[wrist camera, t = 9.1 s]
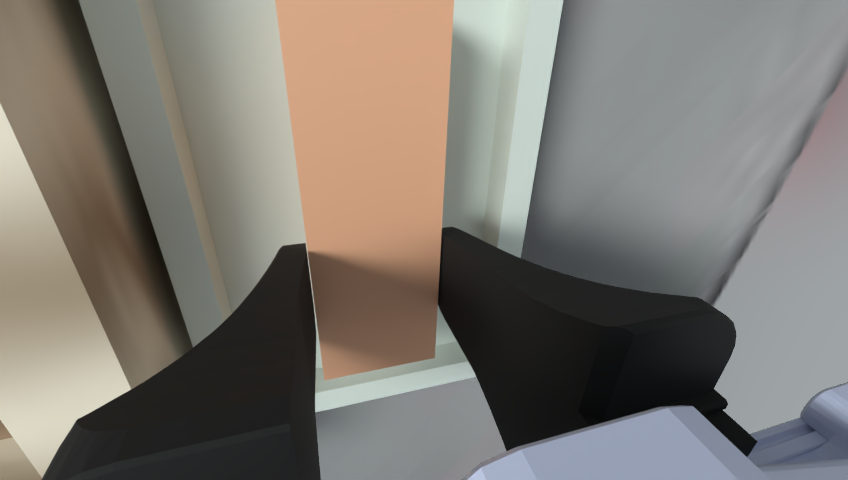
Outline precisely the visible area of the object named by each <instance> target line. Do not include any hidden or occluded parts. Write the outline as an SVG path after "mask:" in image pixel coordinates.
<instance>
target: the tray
mask: <svg viewBox="0 0 848 480" xmlns="http://www.w3.org/2000/svg"><path fill="white" fill-rule="evenodd" d="M79 3H80V6H81V9H82V12H83V15H84V18H85V21H86V24H87V27H88V30H89V33H90V37H91V40H92V43H93V46H94V49H95V52H96V55H97V58H98V61H99V64H100V67H101V70H102V73H103V76H104V79H105V82H106V85H107V88H108V91H109V94H110V97H111V100H112V103H113V106H114V109H115V112H116V115H117V118H118V121H119V124H120V127H121V131H122V134H123V137H124V140H125V143H126V146H127V149H128V152H129V155H130V158H131V161H132V164H133V167H134V170H135V173H136V176H137V179H138V182H139V185H140V188H141V191H142V194H143V197H144V200H145V203H146V206H147V209H148V212H149V215H150V218H151V221H152V225H153V228H154V231H155V234H156V237H157V240H158V243H159V246H160V249H161V252H162V255H163V258H164V261H165V264H166V267H167V270H168V273H169V276H170V279H171V282H172V285H173V288H174V291H175V294H176V297H177V300H178V303H179V306H180V309H181V312H182V315H183V319H184V322H185V325H186V328H187V331H188V334H189V337H190V340H191V343H192V346H193V347H194V346H196V345H197V344H198V343H199V342H201V341H202V340H203V339H204V338H206V337H207V336H208V335H209V334H211V333H212V332H213V331H214V330H215V329H216V328H218V327H219V326H220V325H221V324H222V323H223V322H224V321H225V320H226V319H227V318H228V317H229V316H230V315H231V314H232V313H233V312H234V311H235V310H236V309H237V308H238V306H239V305H240V304H241V303H242V302H243V301H244V299H245V298H246V297H247V296H248V295H249V293H250V292H251V291H252V290H253V288H254V287H255V286H256V284H257V283H258V282H259V280H260V279H261V277H262V276H263V275H264V273H265V272H266V270H267V269H268V267H269V266H270V264H271V263H272V261H273V259H274V258H275V256H276V254H277V252H278V250H279V249H280V248H281V247H282V246H283V245H292V244H301V243H306V235H305V227H304V220H303V212H302V204H301V196H300V189H299V181H298V173H297V165H296V158H295V150H294V142H293V134H292V127H291V119H290V111H289V103H288V96H287V88H286V80H285V72H284V65H283V57H282V49H281V41H280V34H279V26H278V18H277V10H276V3H275V0H79ZM562 6H563V0H454V12H453V30H452V49H451V68H450V86H449V105H448V123H447V142H446V160H445V179H444V198H443V216H442V228H445V227H455V228H457V229H460V230H462V231H464V232H466V233H469V234H471V235H473V236H475V237H477V238H479V239H481V240H483V241H485V242H487V243H489V244H491V245H493V246H495V247H497V248H499V249H501V250H503V251H505V252H508V253H510V254H512V255H514V256H517V257H519V258H521V253H522V247H523V241H524V235H525V229H526V223H527V217H528V211H529V205H530V199H531V193H532V187H533V181H534V175H535V169H536V163H537V157H538V151H539V145H540V139H541V132H542V126H543V120H544V114H545V108H546V102H547V96H548V90H549V84H550V78H551V72H552V66H553V60H554V54H555V48H556V42H557V36H558V30H559V24H560V18H561V12H562ZM306 250H307V243H306ZM307 257H308V251H307ZM308 265H309V258H308ZM309 273H310V266H309ZM310 281H311V274H310ZM311 288H312V281H311ZM312 296H313V289H312ZM313 304H314V297H313ZM314 314H315V323H316V381H315V412H319V411H324V410H328V409H333V408H337V407H342V406H346V405H351V404H355V403H360V402H364V401H369V400H373V399H378V398H382V397H387V396H391V395H396V394H400V393H405V392H409V391H414V390H418V389H423V388H427V387H432V386H436V385H441V384H445V383H450V382H454V381H459V380H463V379H468V378H472V377H476V375H475V373H474V371H473V369H472V367H471V365H470V364H469V362H468V360H467V358H466V356H465V355H464V353H463V351H462V349H461V348H460V346H459V344H458V342H457V340H456V339H455V337H454V335H453V333H452V332H451V330H450V328H449V326H448V324H447V322H446V321H445V319H444V317H443V315H442V313H441V311H440V309H439V306H438V309H437V328H436V346H435V358H432V359H427V360H422V361H418V362H413V363H408V364H403V365H398V366H393V367H388V368H383V369H378V370H373V371H368V372H363V373H358V374H353V375H348V376H343V377H339V378H334V379H329V380H324V374H323V367H322V359H321V351H320V343H319V336H318V328H317V320H316V312H315V305H314Z"/></svg>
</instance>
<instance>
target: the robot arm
mask: <svg viewBox="0 0 848 480" xmlns="http://www.w3.org/2000/svg"><path fill="white" fill-rule="evenodd" d="M438 306H439V309H440V311H441V313H442V315H443V317H444V319H445V321H446V322H447V324H448V326H449V328H450V330H451V332H452V333H453V335H454V337H455V339H456V340H457V342H458V344H459V346H460V348H461V349H462V351H463V353H464V355H465V356H466V358H467V360H468V362H469V364H470V365H471V367H472V369H473V371H474V373H475V375H476V377H477V379H478V381H479V383H480V386H481V388H482V390H483V393H484V395H485V398H486V400H487V402H488V405H489V407H490V409H491V412H492V414H493V417H494V419H495V422H496V425H497V427H498V430H499V432H500V435H501V437H502V440H503V442H504V445H505V448H506V450H507V451H506V452H504V453H502V454H500V455H497V456H495V457H493V458H491V459H489V460H486V461H484V462H482V463H480V464H479V465H478V466H477V467H476V468H474V469H473V470H472V471H471V472H470V473H469V474H468V475H466V476H465V477H464V478H463V479H462V480H848V382H847V383H844V384H840V385H837V386H834V387H831V388H827V389H825V390H822V391H821V392H819V393H817V394H816V395H815V396H813V397H812V398H811V399H810V401H809V402H808V403H807V404H806V406H805V407H804V409H803V410H802V412H801V417H800V418H797V419H794V420H791V421H788V422H785V423H782V424H779V425H776V426H773V427H770V428H767V429H764V430H761V431H758V432H755V433H752V434H748V433H747V432H746V431H745V430H744V429H743V428H742V427H741V426H740V425H739V424H737V423H736V422H735V421H734V420H733V419H732V418H731V417H730V416H728V415H727V414H726V413H725V412H724V411H723V409H725V408H726V407H727V405H728V403H727V401H726V399H725V398H723V397H722V396H721V395H720V394H719V393H718V392H717V391H715V390H714V387H715V385H716V383H717V381H718V379H719V378H720V376H721V374H722V372H723V370H724V368H725V366H726V364H727V362H728V361H729V359H730V357H731V354H732V352H733V349H734V347H735V341H736V330H735V327H734V323H733V322H732V321H731V320H730V319H729V318H728V317H727V316H726V315H724V314H723V313H721V312H720V311H718V310H717V309H715V308H714V307H712V306H711V305H710V304H708V303H707V302H705V301H703V300H702V299H700V298H696V297H687V296H678V295H668V294H659V293H650V292H643V291H637V290H631V289H625V288H619V287H614V286H609V285H604V284H600V283H596V282H592V281H588V280H584V279H580V278H576V277H572V276H569V275H565V274H562V273H559V272H556V271H553V270H550V269H547V268H544V267H541V266H539V265H536V264H533V263H531V262H528V261H526V260H524V259H521V258H519V257H517V256H514V255H512V254H510V253H508V252H505V251H503V250H501V249H499V248H497V247H495V246H493V245H491V244H489V243H487V242H485V241H483V240H481V239H479V238H477V237H475V236H473V235H471V234H469V233H466V232H464V231H462V230H460V229H457V228H455V227H445V228H442V235H441V253H440V272H439V290H438ZM315 381H316V323H315V314H314V304H313V296H312V288H311V281H310V273H309V265H308V257H307V250H306V243H301V244H292V245H283V246H282V247H281V248H280V249H279V250H278V252H277V254H276V256H275V258H274V259H273V261H272V263H271V264H270V266H269V267H268V269H267V270H266V272H265V273H264V275H263V276H262V277H261V279H260V280H259V282H258V283H257V284H256V286H255V287H254V288H253V290H252V291H251V292H250V293H249V295H248V296H247V297H246V298H245V299H244V301H243V302H242V303H241V304H240V305H239V306H238V308H237V309H236V310H235V311H234V312H233V313H232V314H231V315H230V316H229V317H228V318H227V319H226V320H225V321H224V322H223V323H222V324H221V325H220V326H219V327H218V328H216V329H215V330H214V331H213V332H212V333H211V334H209V335H208V336H207V337H206V338H204V339H203V340H202V341H201V342H199V343H198V344H197V345H196V346H194V347H193V348H192V349H191V350H189V351H188V352H187V353H186V354H184V355H183V356H182V357H180V358H179V359H177V360H176V361H174V362H173V363H172V364H170V365H169V366H167V367H166V368H164V369H163V370H161V371H160V372H158V373H157V374H155V375H154V376H152V377H151V378H149V379H147V380H146V381H144V382H143V383H141V384H139V385H138V386H136V387H135V388H133V389H131V390H129V391H128V392H126V393H124V394H122V395H121V396H119V397H117V398H115V399H113V400H112V401H110V402H108V403H106V404H105V405H103V406H101V407H99V408H98V409H96V410H94V411H92V412H90V413H89V414H87V415H85V416H83V417H81V418H79V419H77V420H76V422H75V423H74V425H73V427H72V428H71V430H70V431H69V433H68V434H67V436H66V437H65V439H64V441H63V442H62V444H61V445H60V447H59V448H58V450H57V452H56V454H55V456H54V457H53V459H52V461H51V463H50V465H49V467H48V468H47V470H46V472H45V474H44V476H43V478H42V480H321V479H320V467H319V455H318V443H317V430H316V418H315Z"/></svg>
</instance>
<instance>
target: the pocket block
mask: <svg viewBox="0 0 848 480" xmlns="http://www.w3.org/2000/svg"><path fill="white" fill-rule="evenodd" d="M192 348H193V346H192V343H191V340H190V337H189V334H188V331H187V328H186V325H185V322H184V319H183V315H182V312H181V309H180V306H179V303H178V300H177V297H176V294H175V291H174V288H173V285H172V282H171V279H170V276H169V273H168V270H167V267H166V264H165V261H164V258H163V255H162V252H161V249H160V246H159V243H158V240H157V237H156V234H155V231H154V228H153V225H152V221H151V218H150V215H149V212H148V209H147V206H146V203H145V200H144V197H143V194H142V191H141V188H140V185H139V182H138V179H137V176H136V173H135V170H134V167H133V164H132V161H131V158H130V155H129V152H128V149H127V146H126V143H125V140H124V137H123V134H122V131H121V127H120V124H119V121H118V118H117V115H116V112H115V109H114V106H113V103H112V100H111V97H110V94H109V91H108V88H107V85H106V82H105V79H104V76H103V73H102V70H101V67H100V64H99V61H98V58H97V55H96V52H95V49H94V46H93V43H92V40H91V37H90V33H89V30H88V27H87V24H86V21H85V18H84V15H83V12H82V9H81V6H80V3H79V0H0V480H42V478H43V476H44V474H45V472H46V470H47V468H48V467H49V465H50V463H51V461H52V459H53V457H54V456H55V454H56V452H57V450H58V448H59V447H60V445H61V444H62V442H63V441H64V439H65V437H66V436H67V434H68V433H69V431H70V430H71V428H72V427H73V425H74V423H75V422H76V420H77V419H79V418H81V417H83V416H85V415H87V414H89V413H90V412H92V411H94V410H96V409H98V408H99V407H101V406H103V405H105V404H106V403H108V402H110V401H112V400H113V399H115V398H117V397H119V396H121V395H122V394H124V393H126V392H128V391H129V390H131V389H133V388H135V387H136V386H138V385H139V384H141V383H143V382H144V381H146V380H147V379H149V378H151V377H152V376H154V375H155V374H157V373H158V372H160V371H161V370H163V369H164V368H166V367H167V366H169V365H170V364H172V363H173V362H174V361H176V360H177V359H179V358H180V357H182V356H183V355H184V354H186V353H187V352H188V351H189V350H191V349H192Z"/></svg>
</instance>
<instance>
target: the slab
mask: <svg viewBox="0 0 848 480" xmlns="http://www.w3.org/2000/svg"><path fill="white" fill-rule="evenodd" d="M275 3H276V10H277V18H278V26H279V34H280V41H281V49H282V57H283V65H284V72H285V80H286V88H287V96H288V103H289V111H290V119H291V127H292V134H293V142H294V150H295V158H296V165H297V173H298V181H299V189H300V196H301V204H302V212H303V220H304V227H305V235H306V243H307V251H308V258H309V266H310V274H311V281H312V289H313V297H314V305H315V312H316V320H317V328H318V336H319V343H320V351H321V359H322V367H323V374H324V380H329V379H334V378H339V377H343V376H348V375H353V374H358V373H363V372H368V371H373V370H378V369H383V368H388V367H393V366H398V365H403V364H408V363H413V362H418V361H422V360H427V359H432V358H435V346H436V328H437V309H438V290H439V272H440V253H441V235H442V216H443V198H444V179H445V160H446V142H447V123H448V105H449V86H450V68H451V49H452V30H453V12H454V0H275Z"/></svg>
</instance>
